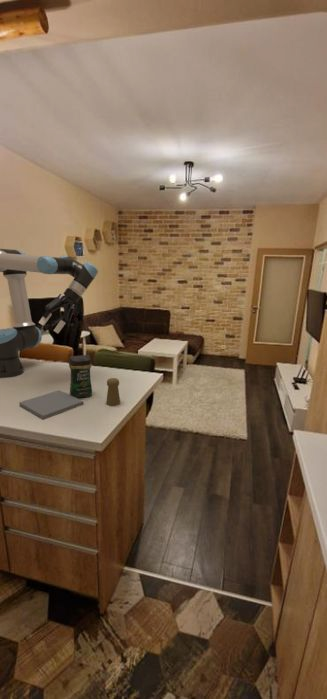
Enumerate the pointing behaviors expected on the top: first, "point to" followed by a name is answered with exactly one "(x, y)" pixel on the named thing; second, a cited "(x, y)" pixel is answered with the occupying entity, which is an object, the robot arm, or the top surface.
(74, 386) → the coffee jar
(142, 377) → the top surface
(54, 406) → the mat
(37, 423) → the top surface
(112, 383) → the cork
